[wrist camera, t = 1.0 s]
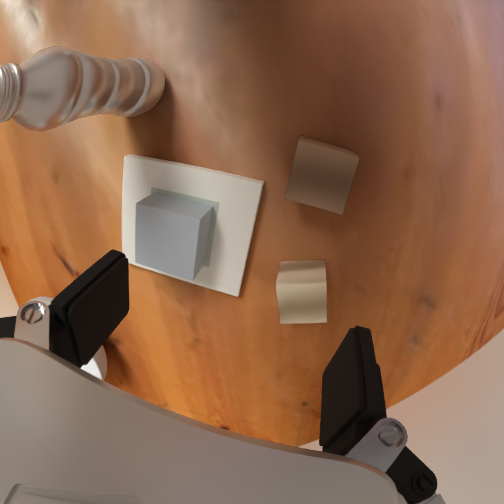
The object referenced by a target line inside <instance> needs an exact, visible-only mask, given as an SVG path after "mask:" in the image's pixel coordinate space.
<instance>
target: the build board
mask: <svg viewBox="0 0 504 504" xmlns="http://www.w3.org/2000/svg"><path fill="white" fill-rule="evenodd" d="M263 185H264V181H261V180H257V179H253V178H249V177H245V176H240V175H236V174H231V173H227V172H222V171H218V170H213V169H208V168H204V167H199V166H194V165H189V164H183V163H178V162H173V161H167V160H162V159H156V158H150V157H144V156H138V155H132V154H129V155H126V156H124V170H123V191H122V253H124V254H125V255H126V258H128V263H130V264H133V265H136V266H139V267H142V268H145V269H148V270H151V271H154V272H158V273H161V274H164V275H167V276H170V277H173V278H177V279H180V280H183V281H186V282H190V283H193V284H196V285H199V286H203V287H206V288H209V289H213V290H216V291H220V292H223V293H227V294H230V295H234V296H237V297H238V295H239V292H240V289H241V284H242V280H243V275H244V270H245V266H246V261H247V257H248V252H249V248H250V243H251V239H252V234H253V230H254V225H255V221H256V216H257V212H258V207H259V203H260V198H261V194H262V189H263ZM154 192H156V193H160V194H165V195H169V196H174V197H178V198H182V199H186V200H191V201H195V202H199V203H203V204H207V205H212V206H213V212H212V218H211V225H210V232H209V239H208V246H207V253H206V260H205V264H204V265H203V267H202V268H201V270H200V271H199V273H198V274H197V276H196V277H195V279H194V280H193V281H192V280H189V279H185V278H182V277H179V276H176V275H172V274H169V273H166V272H163V271H160V270H156V269H153V268H150V267H147V266H144V265H141V264H138V263H135V218H136V203H137V202H139V201H141V200H142V199H144V198H146V197H147V196H149V195H151V194H152V193H154Z"/></svg>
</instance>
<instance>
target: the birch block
mask: <svg viewBox="0 0 504 504" xmlns="http://www.w3.org/2000/svg"><path fill="white" fill-rule="evenodd" d="M276 291H277V299H278V307H279V316H280V324H292V323H327V284H326V266H325V259H321V260H300V261H281V263H280V268H279V272H278V277H277V281H276Z"/></svg>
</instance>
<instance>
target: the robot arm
mask: <svg viewBox="0 0 504 504" xmlns="http://www.w3.org/2000/svg"><path fill="white" fill-rule="evenodd" d="M128 311H129V270H128V258H126V255H125V254H124V253H122V252H119V251H116V250H111V251H109V252H108V253H107V254H106V255H104V256H103V257H102V258H101V259H99V260H98V261H97V262H96V263H95V264H93V265H92V266H91V267H90V268H88V269H87V270H86V271H85V272H84V273H83V274H81V275H80V276H79V277H78V278H77V279H76V280H74V281H73V282H72V283H71V284H70V285H69V286H67V287H66V288H65V289H64V290H63V291H62V292H61V293H60V294H58V295H57V296H56V297H55V298H54V299H53V300H52V301H51V304H50V305H49V306H47V305H46V304H45V303H44V302H41V301H30V302H27V303H25V304H24V305H22V306H21V307H20V309H19V310H18V313H17V316H11V317H4V318H0V504H445V502H444V500H443V498H442V496H441V495H440V494H438V495H437V494H436V493H435V491H436V489H437V479H436V476H435V474H434V473H433V472H432V471H431V470H430V469H429V468H428V467H427V466H426V465H425V464H424V463H423V462H422V461H421V460H420V459H419V458H418V457H417V456H416V455H415V454H413V453H412V452H411V451H410V450H409V449H408V448H407V447H406V446H405V445H406V443H407V438H408V436H407V431H406V429H405V427H404V426H403V425H402V424H401V423H400V422H399V421H397V420H396V419H393V418H387V416H386V407H385V399H384V392H383V385H382V378H381V372H380V367H379V365H378V364H377V363H376V358H375V352H374V346H373V341H372V335H371V331H370V329H368V328H364V327H360V326H356V327H355V328H350V330H349V331H348V333H347V335H346V336H345V338H344V340H343V341H342V343H341V345H340V346H339V348H338V350H337V351H336V353H335V354H334V356H333V358H332V359H331V361H330V362H329V364H328V366H327V367H326V369H325V371H324V373H323V378H322V404H321V423H320V438H319V445H320V446H323V450H322V452H321V451H315V450H309V449H303V448H299V447H294V446H289V445H284V444H280V443H275V442H271V441H266V440H262V439H258V438H254V437H250V436H246V435H243V434H239V433H235V432H232V431H228V430H225V429H222V428H219V427H215V426H212V425H209V424H206V423H203V422H200V421H197V420H194V419H191V418H189V417H186V416H183V415H180V414H178V413H175V412H172V411H170V410H167V409H165V408H162V407H160V406H157V405H155V404H153V403H150V402H148V401H145V400H143V399H141V398H139V397H136V396H134V395H132V394H130V393H128V392H125V391H123V390H121V389H119V388H117V387H115V386H113V385H111V384H109V383H107V382H105V381H103V380H101V379H99V378H97V377H95V376H94V375H92V374H90V373H88V372H86V371H84V370H82V369H81V367H82V366H83V365H87V364H88V363H89V361H90V360H91V359H92V358H93V356H94V355H95V354H96V352H97V351H98V350H99V349H100V347H101V346H102V345H103V343H104V342H105V341H106V340H107V338H108V337H109V336H110V335H111V333H112V332H113V331H114V330H115V328H116V327H117V326H118V325H119V323H120V322H121V321H122V320H123V319H124V317H125V316H126V315H127V313H128Z"/></svg>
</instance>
